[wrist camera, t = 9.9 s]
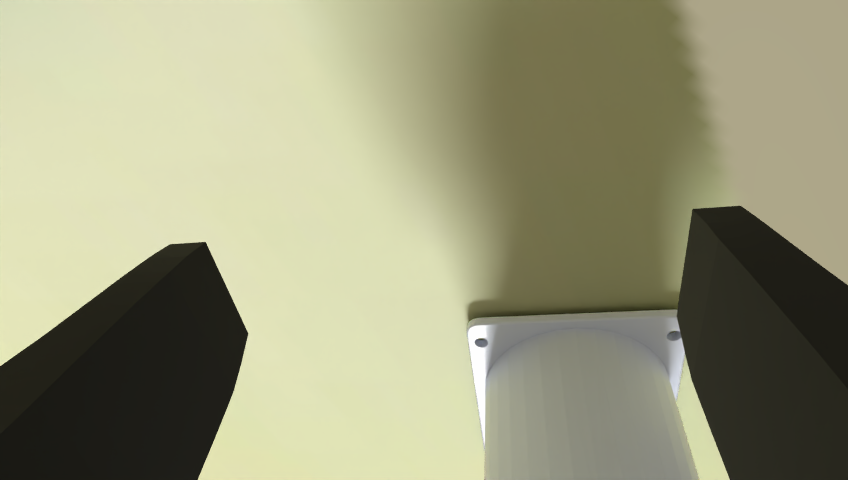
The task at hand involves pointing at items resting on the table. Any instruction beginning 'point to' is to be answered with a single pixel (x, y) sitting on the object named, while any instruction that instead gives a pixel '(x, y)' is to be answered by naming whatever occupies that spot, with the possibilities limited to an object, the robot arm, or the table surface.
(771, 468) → the robot arm
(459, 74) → the table surface
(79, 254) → the table surface
